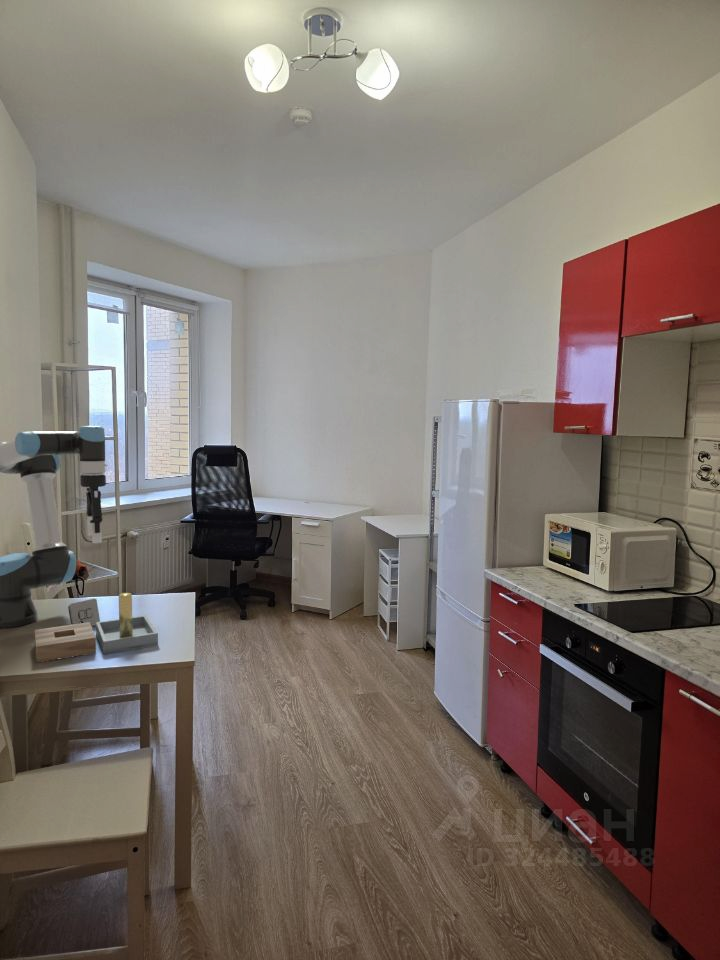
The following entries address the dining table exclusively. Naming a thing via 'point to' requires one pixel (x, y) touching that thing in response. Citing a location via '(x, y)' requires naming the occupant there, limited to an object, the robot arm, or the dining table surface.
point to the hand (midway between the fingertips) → (94, 539)
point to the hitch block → (64, 641)
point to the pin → (125, 615)
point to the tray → (113, 643)
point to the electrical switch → (84, 612)
